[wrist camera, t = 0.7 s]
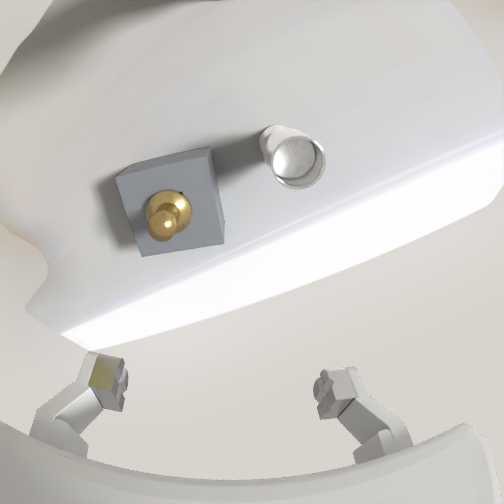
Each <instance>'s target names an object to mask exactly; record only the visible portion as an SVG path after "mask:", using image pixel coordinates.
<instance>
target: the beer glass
mask: <svg viewBox="0 0 504 504" xmlns="http://www.w3.org/2000/svg"><path fill="white" fill-rule="evenodd" d="M259 144H260V148H261V151H262V152H263V154H264V160H265V163H266V166H267V168H268V169H269V171H270V172H271V174H272V175H273V176H274V177H275V178H276V180H277V181H278V182H279V183H280V184H282V185H283V186H285V187H287V188H290V189H305V188H308V187H310V186H312V185H313V184H315V183H316V182H317V181H318V180H319V179H320V178H321V176H322V174H323V172H324V170H325V165H326V158H325V154H324V151H323V149H322V148H321V146H320V145H319V144H318V143H317V142H316V141H315V140H313V139H312V138H311V137H310V136H308V135H307V134H305V133H304V132H301V131H299V130H296V129H289V128H287V127H285V126H283V125H273V126H270V127H268V128H267V129H265V130H264V131H263V133H262V134H261V136H260V140H259Z"/></svg>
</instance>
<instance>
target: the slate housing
mask: <svg viewBox="0 0 504 504" xmlns="http://www.w3.org/2000/svg"><path fill="white" fill-rule="evenodd" d="M115 179H116V182H117V186H118V189H119V192H120V196H121V199H122V202H123V205H124V208H125V211H126V214H127V217H128V220H129V223H130V226H131V229H132V231H133V234H134V237H135V240H136V242H137V245H138V248H139V250H140V253H141V256H142V257H145V256H151V255H157V254H163V253H169V252H175V251H182V250H188V249H194V248H200V247H206V246H213V245H219V244H224V226H225V221H224V216H223V211H222V206H221V201H220V195H219V190H218V185H217V180H216V174H215V169H214V164H213V158H212V153H211V147H204V148H199V149H194V150H189V151H184V152H180V153H175V154H171V155H166V156H162V157H158V158H154V159H150V160H146V161H142V162H138V163H135V164H132V165H130V166H129V167H128V168H127V169H125V170H124V171H123V172H122V173H120V174H119V175H118V176H117V177H115ZM162 190H175V191H178V192H182V193H183V195H184V196H185V197H186V198H187V199H188V200H189V202H190V204H191V208H192V216H191V220H190V222H189V224H188V226H187V227H186V228H185V229H184V230H183V231H181V232H180V233H177V234H174V235H173V237H172V238H171V239H170V240H168V241H166V242H159V241H156V240H154V239H153V238H152V237H151V236H150V235H149V233H148V224H149V222H148V219H147V216H146V208H147V204H148V202H149V201H150V199H151V198H152V197H153V196H154V195H155V194H156V193H158V192H160V191H162Z"/></svg>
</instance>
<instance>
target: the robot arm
mask: <svg viewBox="0 0 504 504" xmlns="http://www.w3.org/2000/svg"><path fill="white" fill-rule="evenodd" d="M124 364H125V363H124V360H123V358H118V357H113V356H108V355H103V354H99V353H94V352H88V353H87V354H86V357H85V359H84V362H83V365H82V367H81V370H80V372H79V375H78V378H77V381H76V383H74V382H72V383H71V384H70V385H69V386H67V387H66V388H65V389H63V390H62V391H61V392H59V393H58V394H57V395H55V396H54V397H53V398H52V399H50V400H49V401H48V402H47V403H45V404H44V405H43V406H41V407H40V408H39V409H37V412H36V415H35V418H34V421H33V424H32V427H31V430H30V434H29V436H28V435H26V434H24V433H22V432H20V431H18V430H16V429H14V428H13V427H11V426H9V425H7V424H5V423H3V422H2V421H0V504H502V503H501V494H500V489H499V484H498V479H497V474H496V470H495V467H494V464H493V460H492V456H491V454H490V450H489V448H488V445H487V443H486V440H485V438H484V437H483V435H482V434H481V433H480V432H478V431H477V430H475V429H474V428H473V427H471V426H469V425H467V424H464V423H463V424H459V425H458V426H456V427H454V428H452V429H450V430H448V431H445V432H443V433H441V434H439V435H437V436H435V437H433V438H430V439H428V440H426V441H423V442H421V443H419V444H416V445H413V443H412V440H411V437H410V435H409V432H408V430H407V427H406V425H405V423H404V422H403V421H401V420H400V419H399V418H398V417H397V416H395V415H394V414H393V413H392V412H390V411H389V410H388V409H387V408H385V407H384V406H383V405H382V404H380V403H379V402H378V401H376V400H375V399H374V398H373V397H372V396H368V395H367V392H366V389H365V387H364V385H363V382H362V379H361V377H360V375H359V372H358V370H357V368H356V367H347V368H344V367H343V368H332V369H324V370H322V371H321V373H320V376H321V377H320V378H318V379H317V380H316V381H315V384H314V388H313V392H314V397H315V399H316V400H317V401H318V402H319V404H318V406H317V409H318V413H319V417H320V420H322V419H331V418H338V420H339V421H340V422H341V423H342V424H343V425H344V426H345V428H346V429H347V430H348V431H349V432H350V433H351V434H352V435H353V436H354V437H355V438H356V439H357V440H358V441H359V442H360V443H361V444H362V445H361V446H360V447H359V448H357V449H356V450H355V451H354V452H353V455H354V459H355V463H356V464H355V465H351V466H348V467H343V468H338V469H334V470H329V471H324V472H318V473H312V474H306V475H299V476H291V477H282V478H272V479H255V480H206V479H190V478H180V477H171V476H163V475H156V474H150V473H144V472H139V471H134V470H129V469H124V468H120V467H116V466H112V465H108V464H104V463H100V462H97V461H93V460H90V459H87V458H86V457H87V451H88V445H87V443H86V442H85V441H84V440H83V439H82V438H81V437H80V436H79V435H80V434H81V433H82V432H83V431H84V429H85V428H86V427H87V426H88V425H89V424H90V423H91V422H92V421H93V420H94V419H95V418H96V417H97V416H98V415H99V414H100V413H101V412H102V411H103V408H104V409H110V410H114V411H119V412H122V409H123V405H124V400H125V398H124V396H123V393H124V392H125V391H126V390H127V386H128V372H127V369H126V368H124Z"/></svg>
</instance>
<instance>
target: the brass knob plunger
mask: <svg viewBox="0 0 504 504" xmlns="http://www.w3.org/2000/svg"><path fill="white" fill-rule="evenodd" d="M146 216H147V219H148V222H149V224H148V233H149V235H150V236H151V237H152V238H153V239H154V240H156V241H159V242H166V241H168V240H170V239H171V238H172V237H173V235H174V234H177V233H180V232H181V231H183V230H184V229H185V228H186V227H187V226H188V224H189V222H190V220H191V216H192V208H191V204H190V202H189V200H188V199H187V198H186V197H185V196H184V195H183V193H182V192H178V191H175V190H162V191H160V192H158V193H156V194H155V195H154V196H153V197H152V198H151V199H150V201H149V202H148V204H147V208H146Z"/></svg>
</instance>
